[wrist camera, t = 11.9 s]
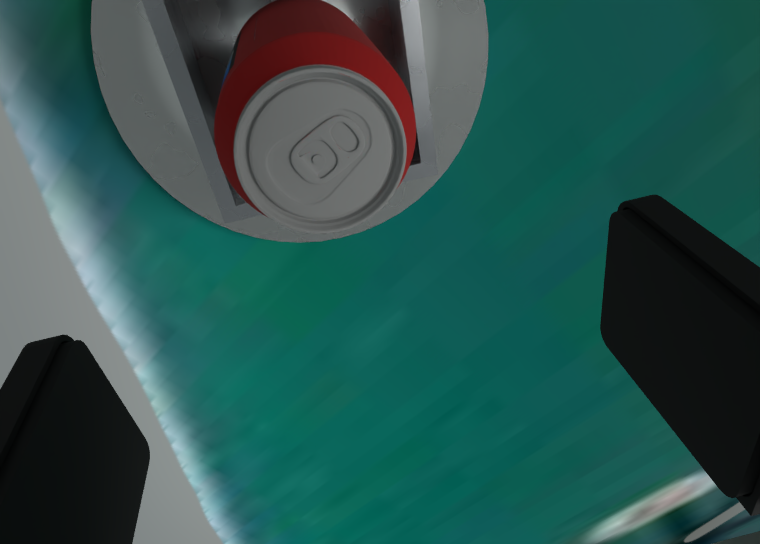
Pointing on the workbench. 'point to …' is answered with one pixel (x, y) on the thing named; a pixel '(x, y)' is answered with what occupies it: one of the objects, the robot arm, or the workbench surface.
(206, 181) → the rosette plate
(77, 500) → the robot arm
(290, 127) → the beverage can
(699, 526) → the workbench surface
